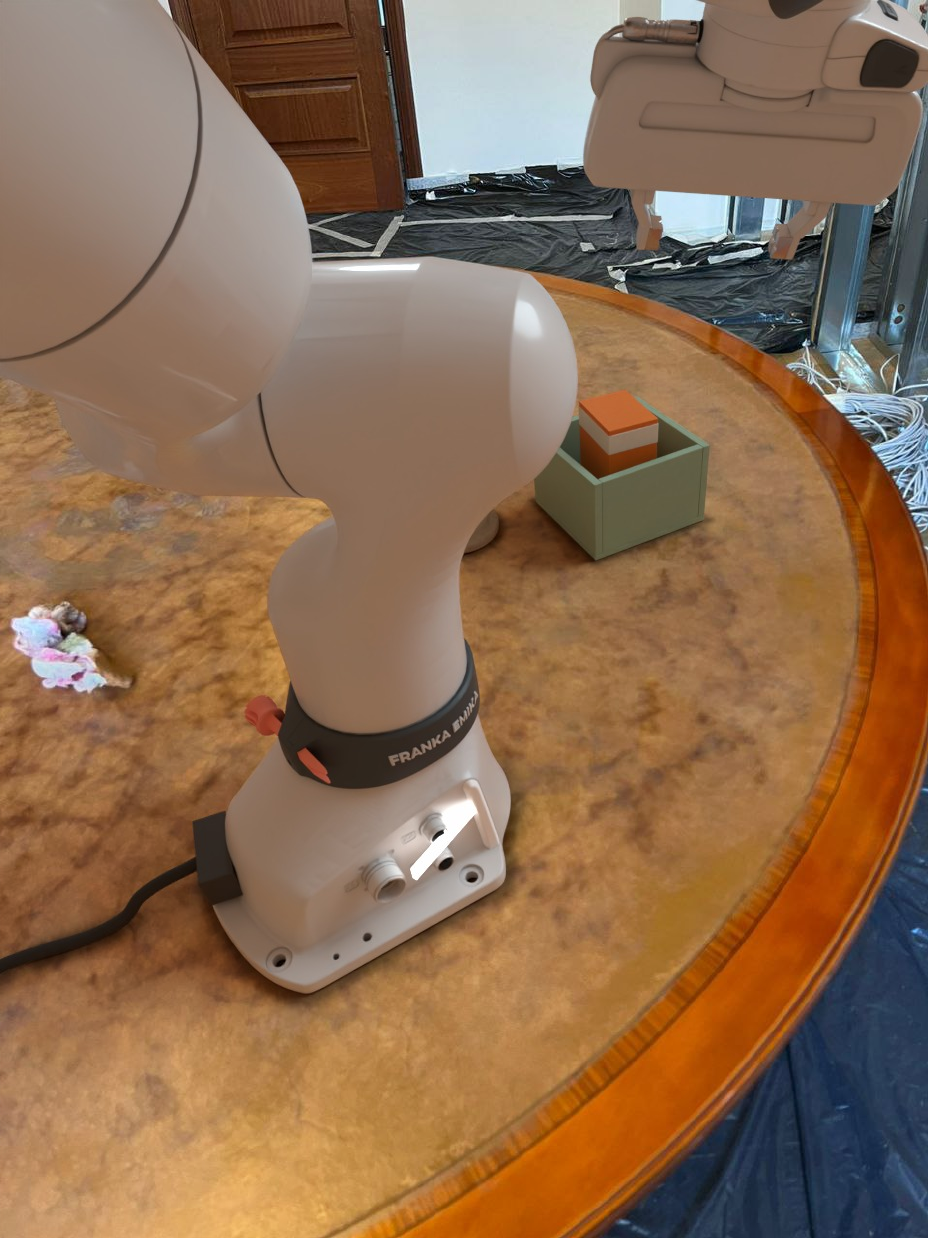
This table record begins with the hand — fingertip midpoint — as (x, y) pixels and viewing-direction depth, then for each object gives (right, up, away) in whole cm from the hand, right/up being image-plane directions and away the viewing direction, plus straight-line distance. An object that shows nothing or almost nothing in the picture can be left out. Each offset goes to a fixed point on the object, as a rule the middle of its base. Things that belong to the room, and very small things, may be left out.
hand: (712, 250), depth 61 cm
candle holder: (-18, -17, +29) cm, 38 cm away
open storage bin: (-2, -15, +29) cm, 32 cm away
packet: (-2, -14, +28) cm, 32 cm away
